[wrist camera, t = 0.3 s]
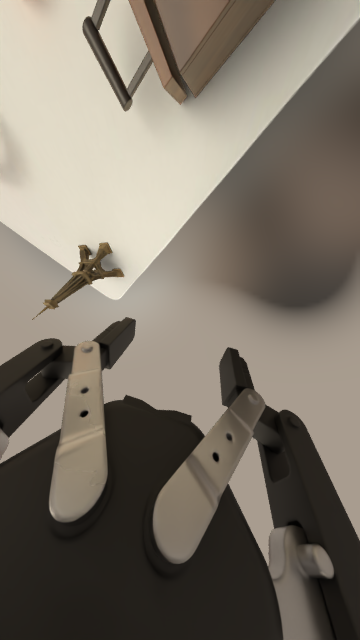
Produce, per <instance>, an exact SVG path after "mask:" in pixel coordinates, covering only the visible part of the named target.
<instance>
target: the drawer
mask: <svg viewBox="0 0 360 640" xmlns="http://www.w3.org/2000/svg"><path fill="white" fill-rule="evenodd" d="M109 3H110V0H98V1H97V3H96V6H95V9H94V12H93V15H92V18H91V17H90V16H88V17H86V19H85V20H84V22H83V34H84V36H85V38H86V39H87V41H88V43H89V45H90V47H91V49H92V51H93V53H94V55H95V57H96V58H97V60H98V62H99V64H100V66H101V68H102V70H103V72H104V74H105V75H106V77H107V79H108V81H109V83H110V85H111V87H112V89H113V91H114V93H115V94H116V96H117V98H118V100H119V102H120V104H121V106H122V108H123V110H124V111H128V110H129V109H130V107H131V105H132V102H133V101H132V96H133V95H134V93H135V91H136V90H137V88H138V86H139V85H140V83H141V81H142V79H143V78H144V76H145V74H146V73H147V71H148V69H149V68H150V66H151V64H152V62H153V63H154V65H155V68H156V70H157V72H158V75H159V77H160V80H161V82H162V85H163V87H164V89H165V90H166V91H167V92H168V93H169V94H170V95H171V96H172V97H173V98H174V99H175V100H176V101H177V102H178V103H179V104H180V105H181V104H182V102H183V101H184V100H185V99H186V97H187V94H186V91H185V88H184V86H183V83H182V80H181V77H180V74H179V71H178V68H177V66H176V63H175V60H174V57H173V54H172V51H171V48H170V45H169V43H168V40H167V37H166V34H165V31H164V28H163V25H162V23H161V20H160V17H159V14H158V11H157V8H156V5H155V3H154V0H129V3H130V5H131V8H132V10H133V13H134V15H135V18H136V20H137V23H138V25H139V28H140V30H141V33H142V35H143V38H144V40H145V43H146V45H147V48H148V52H147V54H146V56H145V57H144V59H143V61H142V63H141V65H140V66H139V68H138V70H137V72H136V74H135V75H134V77H133V79H132V81H131V83H130V84H129V86H128V88H126V86H125V84H124V82H123V80H122V78H121V76H120V74H119V72H118V70H117V68H116V66H115V64H114V62H113V60H112V58H111V56H110V54H109V52H108V50H107V48H106V46H105V44H104V42H103V39H102V37H101V35H100V33H99V31H98V30H99V29H100V26H101V24H102V21H103V18H104V16H105V13H106V11H107V8H108V5H109Z"/></svg>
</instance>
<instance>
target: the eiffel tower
mask: <svg viewBox="0 0 360 640" xmlns="http://www.w3.org/2000/svg"><path fill="white" fill-rule="evenodd" d="M99 245H100V246H99V249H98V253H97V256H96V258H94V259H90V260H89V255H91V253H90V251H89V249H88V248H87V246H86V245H81V246H78V247H79V249H80V259H81V262H80V263H79V264H80V266H79V268H78V270H77V272H73V273H72V275H73V277H72V278H71V279H70V280H69V281H68V282H67V283H66V284H65V285H64V286H63V287H62V288H61V289H60V290H59V291H58V293H57V294H56V295H55V296H54V297H53V298H52V299H51V300H45V303H43V304H44V305H46V306H47V307H46V308H44V309H43V310H42V311H41V312H40V313H39V314H41V313H42V312H43V311H45V310H46V309H47V308H49V309H55V308H56V307H59V306H58V305H57V304H58V303H59V302H61V301H62V300H64V299H65V298H67V297H68V296H70V295H71V294H73V293H75V292H76V291H78V290H79V289H81V288H82V287H83V286H85V285H87V284H89V285H90V284H92V281H94V280H97V279H104V278H105V277H124V275H123V273H122V271H121V269H113V270H112V271H105V270H103V268H102V267H101V263H100V260H101V259H103V258H104V257H105V256H106V255H107V254H110V253H112V251H111V249H110V247H109V244H108V243H100V244H99ZM94 267H95V269H96V270H94V271H93V270H92V269H93V268H94ZM37 316H38V315H37ZM37 316H36V317H37ZM33 319H34V318H33ZM33 319H32V320H33Z"/></svg>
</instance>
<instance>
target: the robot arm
mask: <svg viewBox="0 0 360 640" xmlns="http://www.w3.org/2000/svg"><path fill="white" fill-rule="evenodd" d="M135 324H136V321H135V319H131V318H128V317H126V318H125V319H124V320H122V321H121V322H120V321H117V322H115V323H113V324H111V325H110V326H109V327H108V328H107V329H105V331H103V332H102V333H101V334H100V335H98V336H97V337H96V338H95V339H94V340H93V341H85V342H82V343H80V344H78V345H77V346H62V342H61V341H60V340H59V339H54V338H53V339H52V338H50V339H44V340H41V341H39V342H37V343H35V344H34V345H32V346H31V347H29V348H27V349H26V350H24V351H23V352H21V353H20V354H18V355H16V356H15V357H13V358H12V359H10V360H9V361H7V362H5V363H4V364H2V365H1V366H0V459H1V458H2V455H3V453H4V452H5V450H6V449H7V446H8V444H9V437H10V436H11V435H12V433H14V432H15V431H16V429H17V428H18V427H19V426H20V425H21V424H22V423H23V422H24V421H25V420H26V419H27V418H28V417H29V416H30V415H31V414H32V413H33V412H34V411H35V410H36V409H37V407H38V406H39V405H40V404H41V403H42V402H43V401H44V400H45V399H46V398H47V397H48V396H49V395H50V394H51V393H52V392H53V391H54V390H55V389H56V388H57V387H58V386H59V385H60V384H61V383H62V381H63V380H64V379H68V383H67V390H66V397H65V405H64V412H63V420H62V427H61V429H60V430H58V431H56V432H54V433H53V434H51V435H49V436H48V437H46V438H44V439H42V440H41V441H39V442H37V443H36V444H34V445H32V446H30V447H28V448H27V449H25V450H23V451H21V452H20V453H18V454H16V455H15V456H13V457H11V458H9V459H8V460H6V461H4V462H2V463H1V464H0V640H360V541H359V539H358V537H357V534H356V532H355V530H354V528H353V526H352V524H351V521H350V519H349V517H348V515H347V513H346V511H345V509H344V507H343V505H342V503H341V501H340V498H339V496H338V494H337V492H336V490H335V488H334V486H333V484H332V481H331V479H330V477H329V475H328V473H327V471H326V469H325V467H324V465H323V462H322V460H321V458H320V456H319V454H318V452H317V450H316V448H315V445H314V443H313V441H312V439H311V437H310V435H309V433H308V431H307V428H306V427H305V425H304V423H303V422H302V421H301V419H300V418H299V417H298V416H296V415H295V414H294V413H292V412H290V411H288V410H282V411H280V412H277V411H275V410H274V409H272V408H270V407H269V406H267V405H265V402H264V400H263V398H262V397H261V396H260V395H259V394H258V393H257V392H256V391H255V390H254V386H253V383H252V380H251V376H250V374H249V370H248V367H247V363H246V362H245V361H244V359H243V358H241V357H240V356H239V353H238V350H236V349H233V348H229V347H228V348H227V349H226V351H225V353H224V355H223V357H222V359H221V361H220V365H219V370H220V382H221V395H222V405H224V406H227V407H228V409H227V410H226V412H225V413H224V414H223V415H222V416H221V418H220V419H219V420H218V421H217V423H216V424H215V425H214V426H213V428H212V429H211V430H210V431H209V432H208V434H207V435H206V436H204V434H203V433H202V432H201V430H200V429H199V428H198V427H197V426H196V425H195V424H193V423H192V422H191V415H187V414H184V413H181V412H178V411H172V410H156V409H154V408H153V407H152V406H150V405H149V404H147V403H146V402H144V401H142V400H140V399H137V398H134V397H131V396H127V395H126V396H125V397H124V399H123V400H117V401H112V402H108V403H106V404H104V398H103V384H102V370H104V368H107V369H111V368H112V366H113V365H114V364H115V363H116V361H117V360H118V359H119V357H120V356H121V355H122V354H123V352H124V351H125V350H126V348H127V347H128V346H129V344H130V343H131V342H132V340H133V338H134V335H135ZM40 371H41V372H40ZM39 372H40V373H39ZM37 373H38V374H37ZM36 374H37V375H36ZM35 375H36V376H35ZM34 376H35V377H34ZM33 377H34V378H33ZM31 378H33V379H31ZM30 379H31V380H30ZM29 380H30V381H29ZM28 381H29V382H28ZM27 382H28V383H27ZM252 437H253V438H255V439H256V440H257V441H258V447H259V452H260V457H261V462H262V468H263V473H264V478H265V483H266V488H267V494H268V499H269V504H270V509H271V514H272V519H273V525H274V529H273V530H272V531H271V533H270V536H269V566H267V563H266V561H265V559H264V556H263V554H262V552H261V550H260V548H259V546H258V544H257V542H256V540H255V538H254V536H253V534H252V532H251V530H250V527H249V526H248V524H247V521H246V519H245V517H244V515H243V513H242V511H241V509H240V507H239V505H238V503H237V501H236V499H235V497H234V494H233V492H232V490H231V489H230V486H229V484H228V482H229V480H230V478H231V476H232V474H233V473H234V471H235V469H236V467H237V465H238V463H239V461H240V459H241V457H242V455H243V453H244V451H245V450H246V448H247V446H248V444H249V442H250V440H251V438H252Z"/></svg>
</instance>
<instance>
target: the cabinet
mask: <svg viewBox="0 0 360 640" xmlns="http://www.w3.org/2000/svg"><path fill="white" fill-rule="evenodd" d="M154 1H155V4H156V7H157V9H158V12H159V15H160V18H161V21H162V24H163V27H164V30H165V32H166V35H167V38H168V41H169V44H170V47H171V50H172V53H173V55H174V58H175V61H176V64H177V67H178V70H179V72H180V74H181V76H182V77H183V79H184V80H185V82H186V84H187V85H188V87H189V88H190V90H191V92H192V93H193V95H194V97H195V98H196V97H197V96H198V95H199V93H200V92H201V91H202V90H203V88H204V87H205V86H206V85H207V83H208V82H209V81H210V80H211V79H212V77H213V76H214V75H215V74H216V72H217V71H218V70H219V69H220V68H221V66H222V65H223V64H224V63H225V61H226V60H227V59H228V58H229V57H230V55H231V54H232V53H233V52H234V50H235V49H236V48H237V47H238V45H239V44H240V43H241V42H242V41H243V39H244V38H245V37H246V36H247V34H248V33H249V32H250V31H251V30H252V28H253V27H254V26H255V25H256V23H257V22H258V21H259V20H260V18H261V17H262V16H263V15H264V14H265V12H266V11H267V10H268V9H269V7H270V6H271V5H272V4H273V3H274V1H275V0H154Z"/></svg>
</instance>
